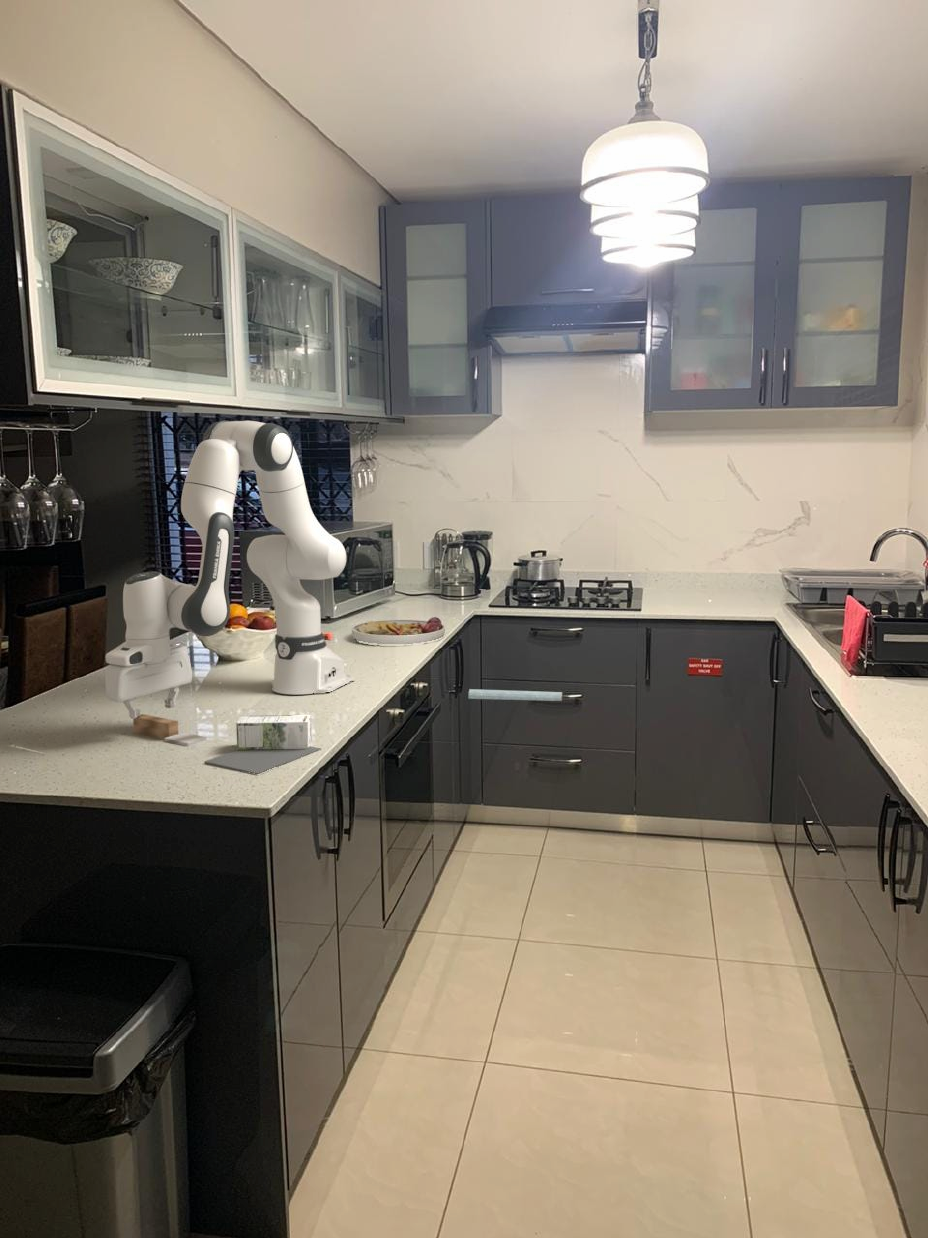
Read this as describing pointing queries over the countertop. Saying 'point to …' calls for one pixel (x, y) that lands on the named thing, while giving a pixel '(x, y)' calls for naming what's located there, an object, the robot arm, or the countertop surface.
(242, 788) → the countertop surface
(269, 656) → the countertop surface
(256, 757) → the mat
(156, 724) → the tan wooden bar
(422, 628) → the plate of food
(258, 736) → the syrup box
